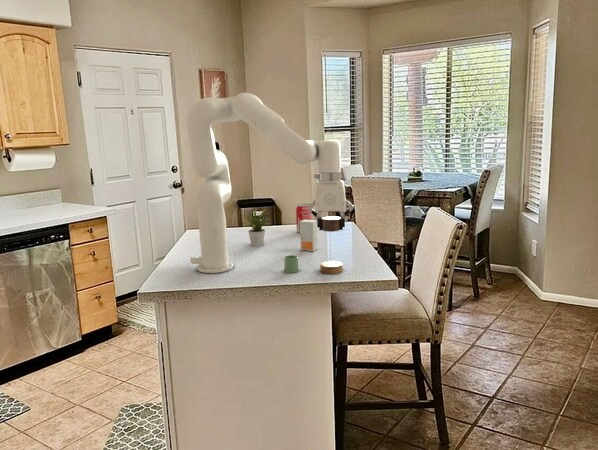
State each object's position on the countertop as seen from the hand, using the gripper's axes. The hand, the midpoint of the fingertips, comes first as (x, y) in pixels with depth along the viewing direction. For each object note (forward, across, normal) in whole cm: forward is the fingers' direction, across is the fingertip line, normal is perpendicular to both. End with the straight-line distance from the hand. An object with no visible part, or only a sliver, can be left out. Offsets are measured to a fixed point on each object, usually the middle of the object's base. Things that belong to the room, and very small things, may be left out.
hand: (331, 229), depth 174 cm
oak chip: (+15, 0, 0) cm, 15 cm away
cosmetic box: (+15, -10, +30) cm, 35 cm away
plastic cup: (+15, -14, 0) cm, 20 cm away
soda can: (+15, -15, +64) cm, 67 cm away
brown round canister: (0, 0, 0) cm, 0 cm away
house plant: (+15, -34, +38) cm, 53 cm away
